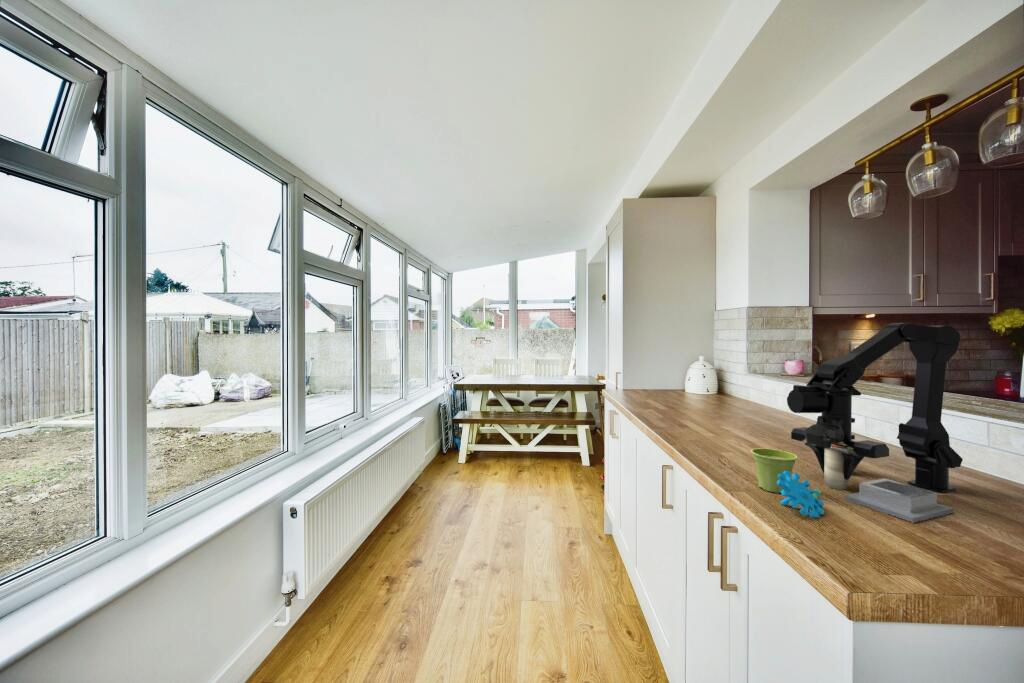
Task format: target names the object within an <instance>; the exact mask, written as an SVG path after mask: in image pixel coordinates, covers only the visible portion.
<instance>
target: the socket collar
mask: <svg viewBox="0 0 1024 683" xmlns="http://www.w3.org/2000/svg"><path fill="white" fill-rule="evenodd" d="M858 484H859V486H858V487H859V488H858V489H859V490H858V492H859V496H860V497H863V498H866V499H869V500H872V501H875V502H878V503H881V504H884V505H887V506H891V507H894V508H897V509H900V510H903V511H906V512H909V513H913V512H918V511H922V510H926V509H930V508H934V507H937V503H938V501H937V500H938V497H937V495H938V492H937V491H935V492H934V491H933V490H930V489H926V488H922V487H919V486H915V485H912V484H908V483H907V484H906V483H903V482H899V481H896V480H892V479H890V478H889V479H888V478H878V479H874V480H868V481H863V482H859V483H858Z"/></svg>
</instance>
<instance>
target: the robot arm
mask: <svg viewBox="0 0 1024 683" xmlns="http://www.w3.org/2000/svg"><path fill="white" fill-rule="evenodd" d="M960 340H961V334H960V332H959V331H958V330H957V329H956V328H955V327H954V326H952V325H944V324H943V325H923V324H922V325H919V324H913V323H909V322H893V323H889V324H886V325H885V326H884V327H883V328H882V330H880V331H878V332H877V333H875V334H874V335H872V336H871V337H870V338H868V339H867V340H865V341H863V342H862V343H860V344H859V345H858V346H857V347H855V348H853V349H852V350H851V351H849V352H847V353H846V354H842V355H840V356H839V355H838V356H836V357H832V358H830V359H828V360H826V361H823V362H822V363H820V364H819V365H818V366H817V369H816V370H817V371H816V372H815V374H814V375H813V376H812V377H811V378H810V379H809V381H808V383H806V385H800V384H793V387H792V390H790V392H789V393H788V395H787V397H786V404H787V406H788V409H789V410H790V411H791V412H792V413H795V414H821V415H818V416H817V417H816V423H815V424H812V425H810V426H809V427H805V426H803V427H794V428H792V430H791V431H790V439H791V440H794V441H799V442H804V441H806V442H804V445H805V446H807V447H809V448H810V449H811V450H812V451H813V453H814V454H815V457H816V459H817V461H818V464H819V466H820V469H821V471H822V473H823V474H824V451H825V448H831V444H833V445H838V446H842V447H846V448H847V452H842V453H841V454H842V455H843V457H844V479H845V480H847V481H848V480H849V479H850V478H851V477H852V475H853V474H854V472H855V471H856V469H857V467H858V466H859V464H860V462H862V461H863V459H864V458H869V459H881V458H887V457H890V448H889V447H888V446H887V444H886V443H882V442H878V441H873V440H859V441H854V440H855V439H856V436H855V435H854V434H852V424H855V423H856V418H855V417H852V415H853V414H852V404H853V403H852V399H853V396H859V397H860V396H862V392H860V391H859V389H856V387H854V385H855V384H856V383H857V382H858V381H859V380H860V379H861V378H862V377H863V376H864V375H865V371H866V369H867V368H868V367H869V366H870V365H871V364H873V363H875V362H876V361H878V360H879V359H880V358H882V357H883V356H885V355H886V354H888V353H889V352H890V351H891V352H892V350H894V349H895V348H896V347H898V346H899V345H900V344H902V343H908V344H909V346H908V347H909V351H910V353H911V354H912V356H913V357H914V359H915V361H916V365H915V366H916V368H915V378H914V379H915V380H914V389H913V399H912V400H913V402H912V408H911V410H912V411H911V418H909V419H908V420H907V422H906V423H903V422H902V423H901V422H900V423H899V424H898V434H897V437H896V440H898V442H899V446H900V447H901V448H902V449H903V453H904V455H905V457H906V458H911V459H914V479H913V480H908V481H907V485H911V486H914V487H918V488H922V489H925V490H929V491H933V492H934V491H935V492H936V493H938V492H939V493H946V492H950V491H951V492H952V491H956V490H957V486H953V485H950V481H949V480H950V477H949V476H950V469H955V468H960V467H961V466H962V463H963V460H964V459H963V457H961V455H959V453H957V451H955V449H953V447H951V442H950V436H949V432H948V431H947V429H946V428H945V427H944V425H943V423H942V411H943V402H944V390H945V380H946V367H947V363H948V362H949V360H951V359H952V357H953V356H954V355H956V353H957V352H958V348H959V344H960V342H961V341H960ZM851 440H852V441H851ZM841 442H842V443H841Z"/></svg>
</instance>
